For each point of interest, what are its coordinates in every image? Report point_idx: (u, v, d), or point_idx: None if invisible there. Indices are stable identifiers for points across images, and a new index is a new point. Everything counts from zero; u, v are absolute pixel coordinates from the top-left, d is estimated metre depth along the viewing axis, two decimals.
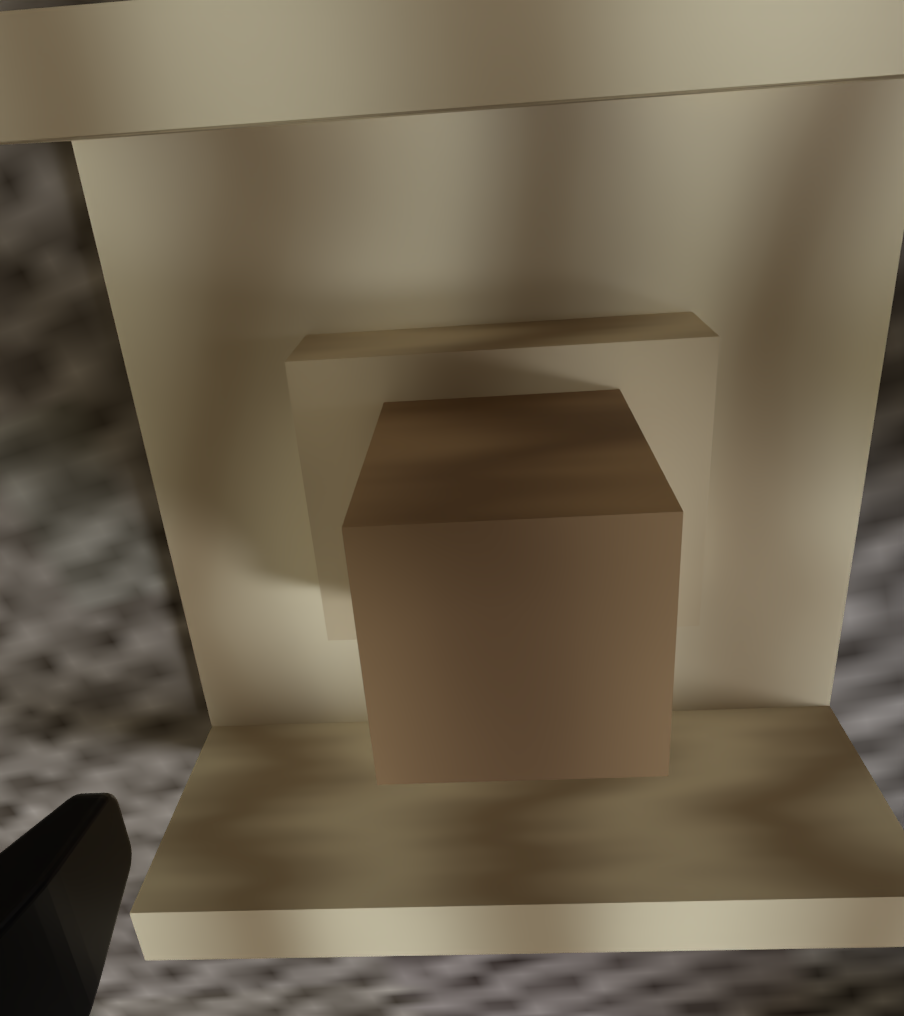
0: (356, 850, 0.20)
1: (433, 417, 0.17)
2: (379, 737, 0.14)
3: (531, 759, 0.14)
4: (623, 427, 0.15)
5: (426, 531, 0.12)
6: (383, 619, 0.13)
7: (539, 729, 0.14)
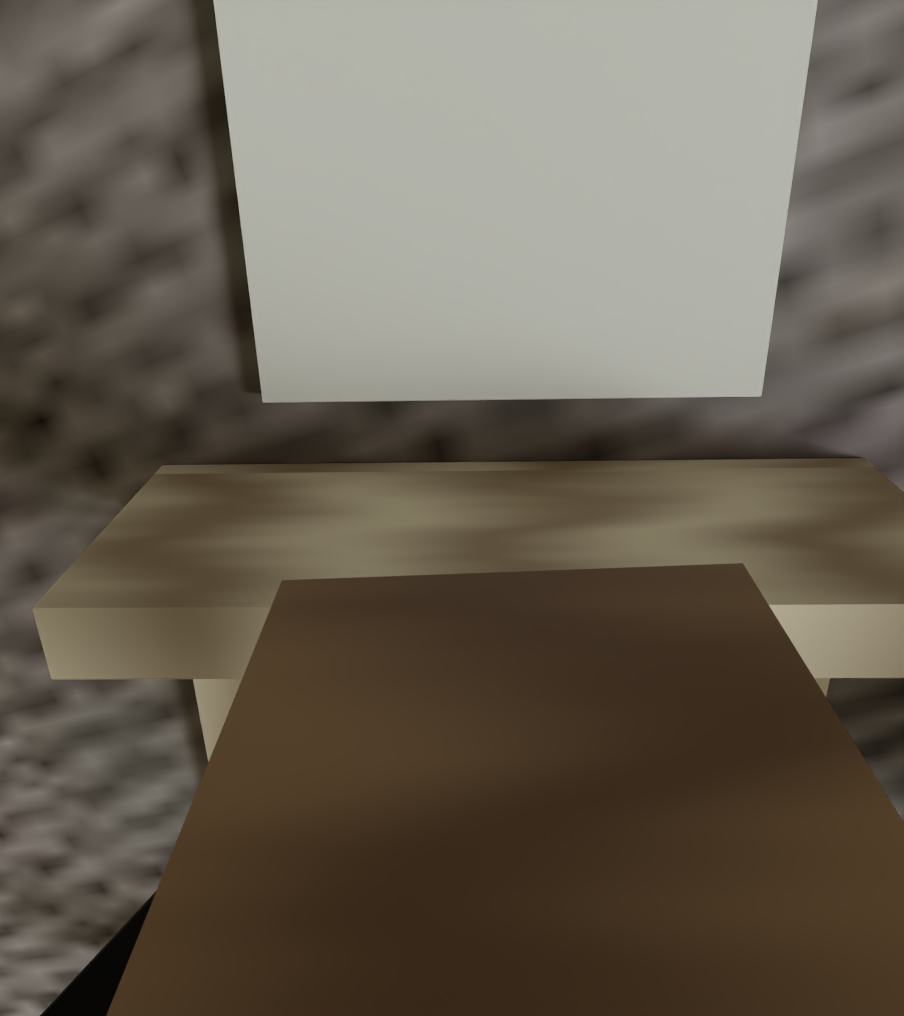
0: None
1: (372, 638, 0.08)
2: None
3: None
4: (793, 703, 0.07)
5: None
6: None
7: None
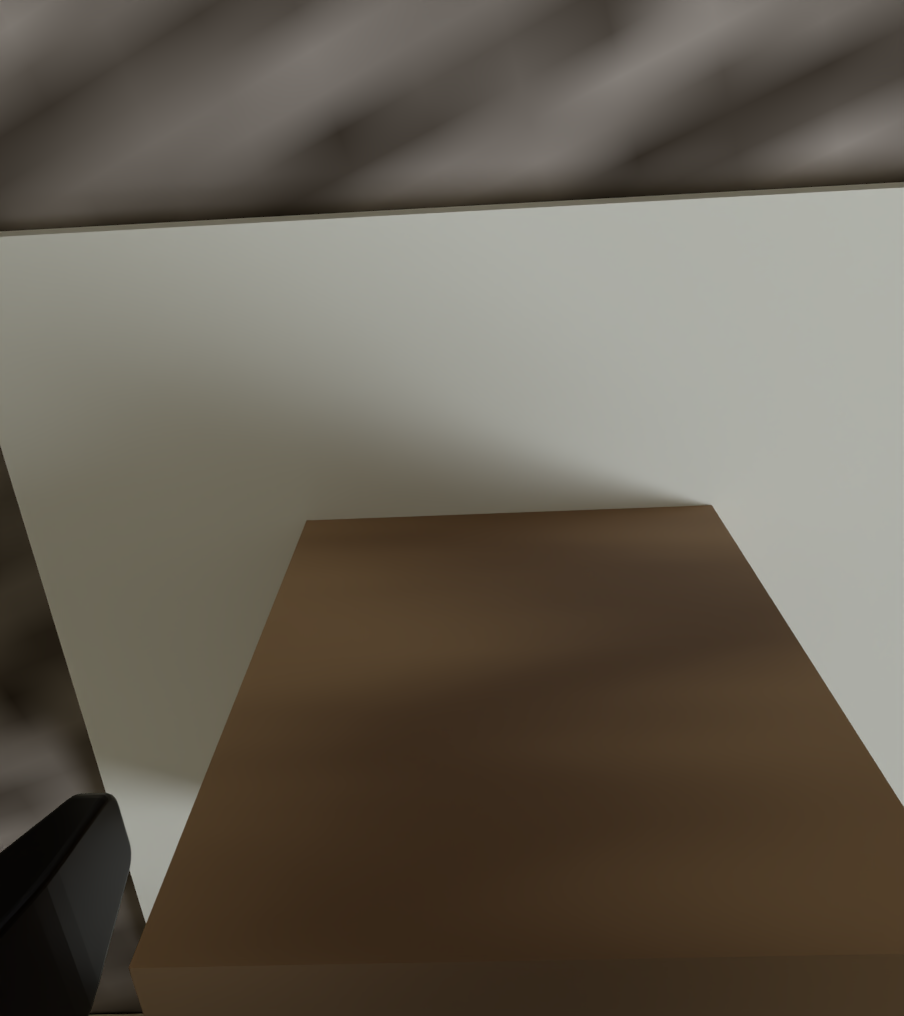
0: None
1: (388, 563, 0.09)
2: None
3: None
4: (746, 608, 0.08)
5: (340, 979, 0.05)
6: None
7: None
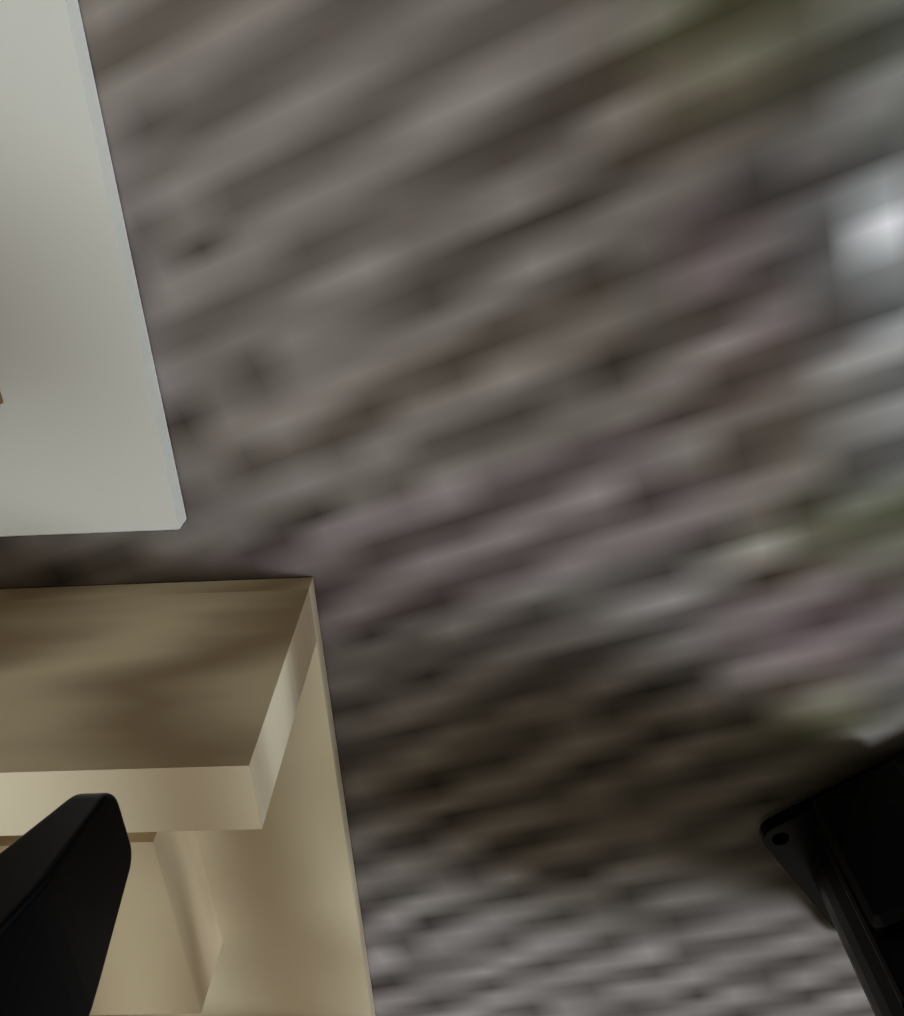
0: None
1: None
2: None
3: None
4: None
5: None
6: None
7: None
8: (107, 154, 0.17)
